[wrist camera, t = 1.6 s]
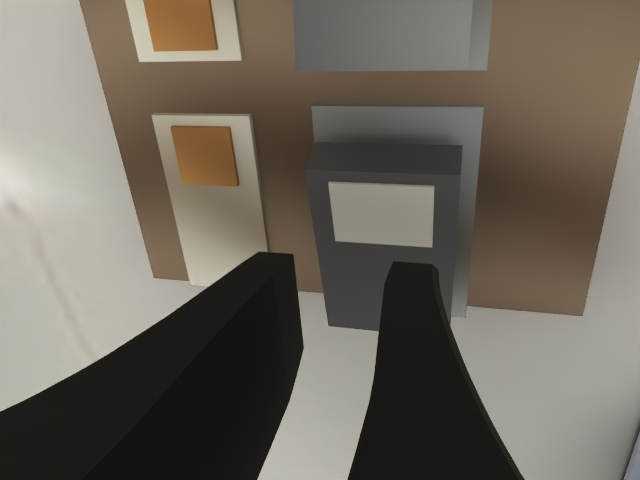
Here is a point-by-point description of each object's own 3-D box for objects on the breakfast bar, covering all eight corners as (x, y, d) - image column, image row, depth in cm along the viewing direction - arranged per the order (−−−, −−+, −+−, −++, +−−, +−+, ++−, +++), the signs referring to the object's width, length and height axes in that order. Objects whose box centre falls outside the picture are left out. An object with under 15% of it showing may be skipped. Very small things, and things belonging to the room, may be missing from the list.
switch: (451, 306, 16) (449, 340, 16) (336, 295, 17) (328, 327, 16) (462, 145, 13) (460, 177, 12) (315, 141, 14) (303, 171, 13)
